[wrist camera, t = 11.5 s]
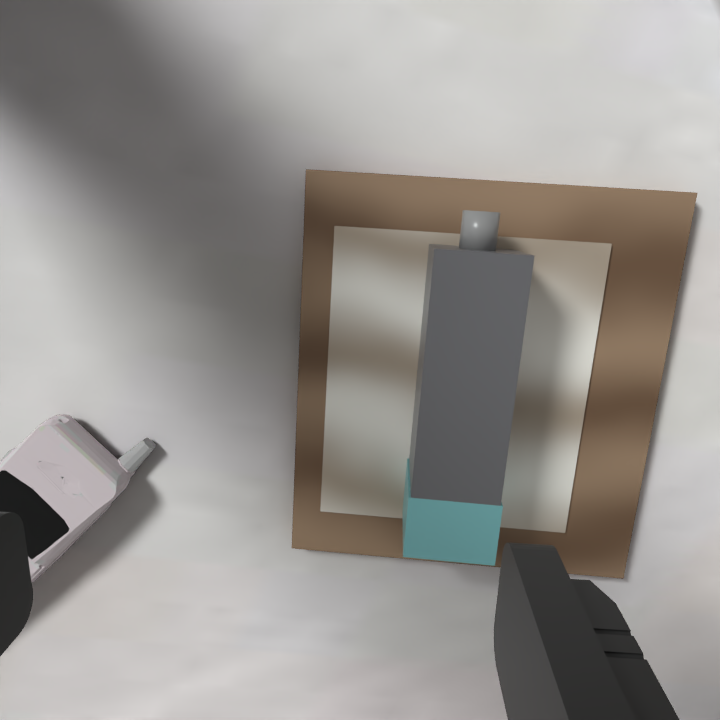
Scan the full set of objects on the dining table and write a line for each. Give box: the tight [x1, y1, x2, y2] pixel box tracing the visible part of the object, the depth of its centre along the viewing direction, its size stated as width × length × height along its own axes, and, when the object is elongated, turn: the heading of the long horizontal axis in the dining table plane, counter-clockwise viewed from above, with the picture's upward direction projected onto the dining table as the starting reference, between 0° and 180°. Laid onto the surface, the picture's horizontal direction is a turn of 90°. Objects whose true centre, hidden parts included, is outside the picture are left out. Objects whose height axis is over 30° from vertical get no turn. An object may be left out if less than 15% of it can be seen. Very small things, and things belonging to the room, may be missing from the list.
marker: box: [403, 210, 534, 566], centre depth 27 cm, size 16×4×4 cm, turn 176°
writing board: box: [292, 169, 697, 579], centre depth 30 cm, size 20×18×1 cm
